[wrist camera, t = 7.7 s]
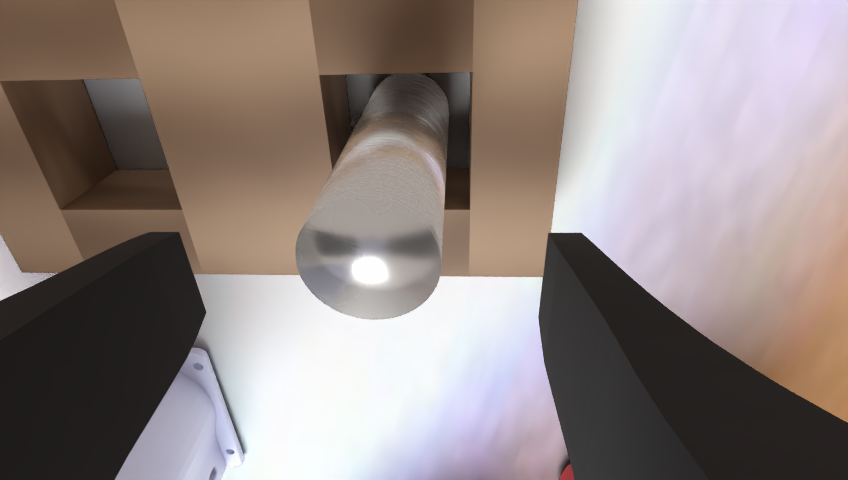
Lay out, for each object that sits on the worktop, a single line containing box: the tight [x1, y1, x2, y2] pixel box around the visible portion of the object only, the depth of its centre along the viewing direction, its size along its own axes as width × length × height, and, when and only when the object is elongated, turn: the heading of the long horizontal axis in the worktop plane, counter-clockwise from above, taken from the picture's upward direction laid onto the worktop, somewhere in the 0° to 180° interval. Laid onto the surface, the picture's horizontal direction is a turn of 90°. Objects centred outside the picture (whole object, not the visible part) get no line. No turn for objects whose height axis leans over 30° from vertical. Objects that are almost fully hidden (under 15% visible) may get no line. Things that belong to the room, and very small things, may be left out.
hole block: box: [0, 0, 578, 277], centre depth 18 cm, size 10×20×4 cm, turn 92°
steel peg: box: [295, 73, 449, 320], centre depth 15 cm, size 3×3×10 cm
